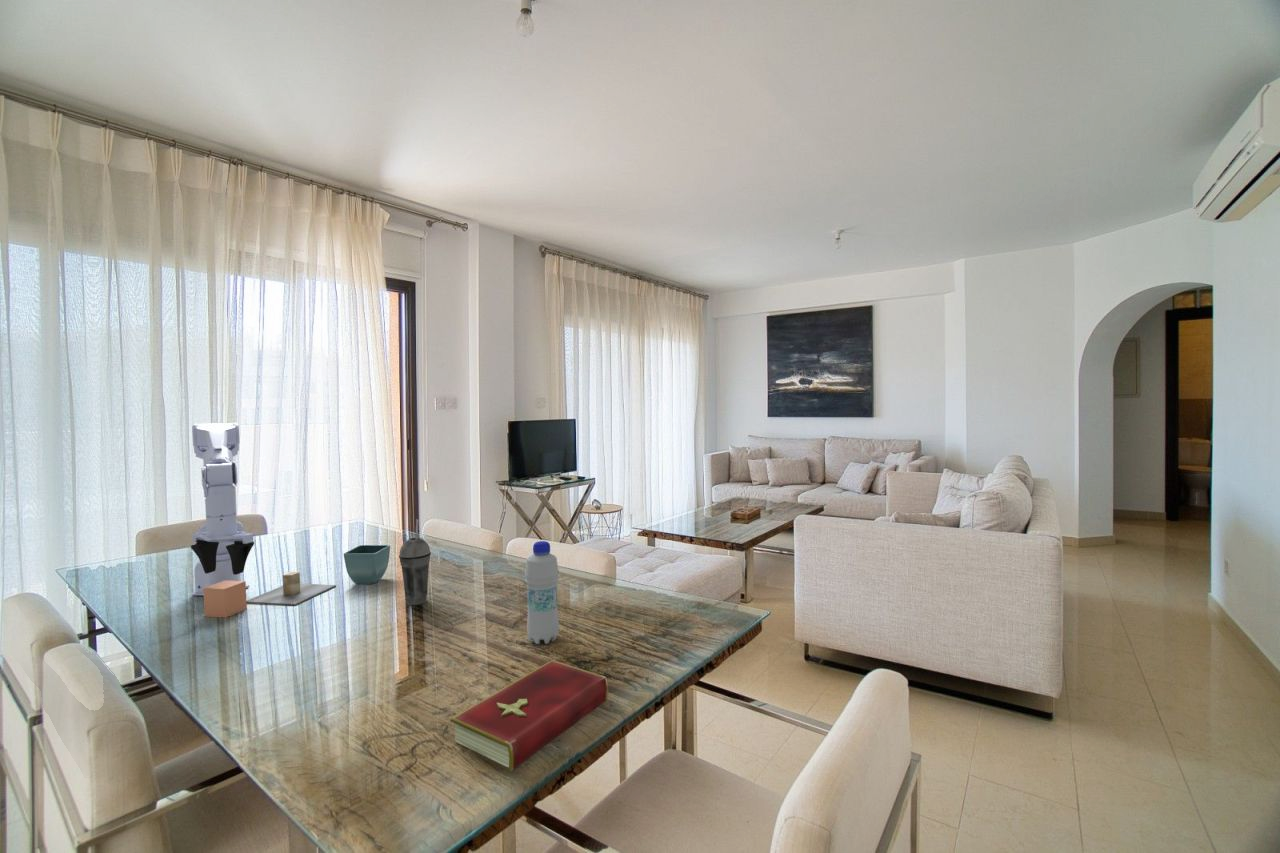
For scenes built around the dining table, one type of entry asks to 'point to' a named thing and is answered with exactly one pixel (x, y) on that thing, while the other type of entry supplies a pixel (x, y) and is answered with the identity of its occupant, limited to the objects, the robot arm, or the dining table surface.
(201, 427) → the robot arm
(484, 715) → the hardcover book
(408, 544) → the beverage cup
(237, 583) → the block
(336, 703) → the dining table surface
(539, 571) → the bottle
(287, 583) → the post block
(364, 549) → the flower pot
